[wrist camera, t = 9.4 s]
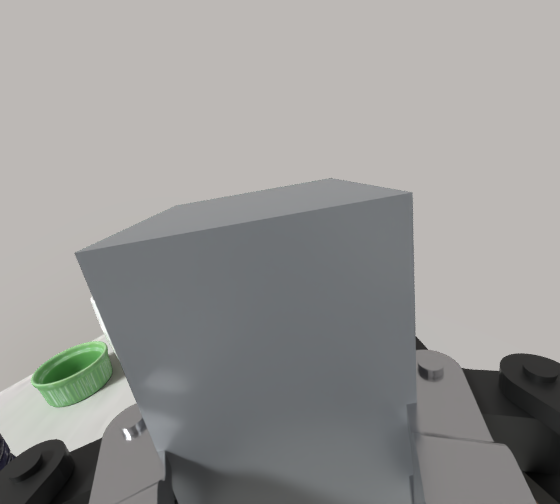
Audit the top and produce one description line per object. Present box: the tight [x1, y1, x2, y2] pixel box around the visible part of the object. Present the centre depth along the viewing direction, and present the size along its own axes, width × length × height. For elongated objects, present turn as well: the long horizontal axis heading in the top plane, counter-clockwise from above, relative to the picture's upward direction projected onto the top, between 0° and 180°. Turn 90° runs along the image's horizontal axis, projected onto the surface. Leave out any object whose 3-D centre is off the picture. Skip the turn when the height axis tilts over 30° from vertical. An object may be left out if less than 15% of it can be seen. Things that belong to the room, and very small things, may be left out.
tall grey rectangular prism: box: [75, 178, 417, 504], centre depth 8 cm, size 5×5×12 cm
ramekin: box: [31, 341, 112, 407], centre depth 40 cm, size 9×9×4 cm
